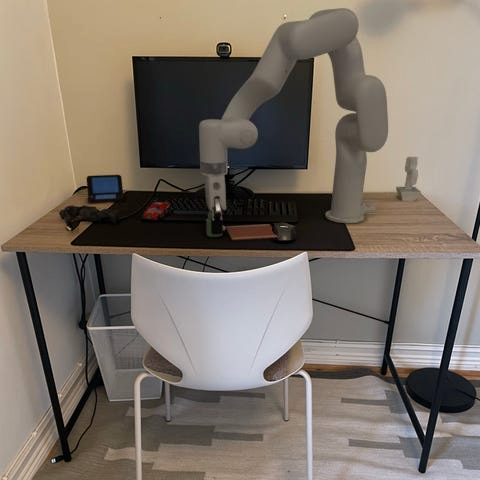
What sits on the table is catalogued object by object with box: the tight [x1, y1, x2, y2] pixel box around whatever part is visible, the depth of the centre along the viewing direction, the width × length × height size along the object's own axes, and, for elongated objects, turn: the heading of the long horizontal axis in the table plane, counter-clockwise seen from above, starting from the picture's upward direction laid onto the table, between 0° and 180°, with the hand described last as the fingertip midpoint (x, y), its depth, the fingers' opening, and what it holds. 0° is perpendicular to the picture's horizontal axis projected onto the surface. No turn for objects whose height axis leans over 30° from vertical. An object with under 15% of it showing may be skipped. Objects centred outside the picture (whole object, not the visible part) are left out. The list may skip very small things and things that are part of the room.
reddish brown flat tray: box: [224, 223, 280, 241], centre depth 146 cm, size 14×12×1 cm
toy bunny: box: [205, 208, 227, 238], centre depth 142 cm, size 6×5×9 cm
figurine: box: [395, 156, 422, 202], centre depth 176 cm, size 7×9×15 cm
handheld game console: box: [86, 174, 125, 204], centre depth 176 cm, size 12×11×7 cm
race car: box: [142, 201, 171, 221], centre depth 159 cm, size 13×5×4 cm, turn 161°
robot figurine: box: [58, 204, 122, 227], centre depth 154 cm, size 18×4×20 cm
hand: (215, 228), depth 143 cm, fingers open, 7 cm apart
